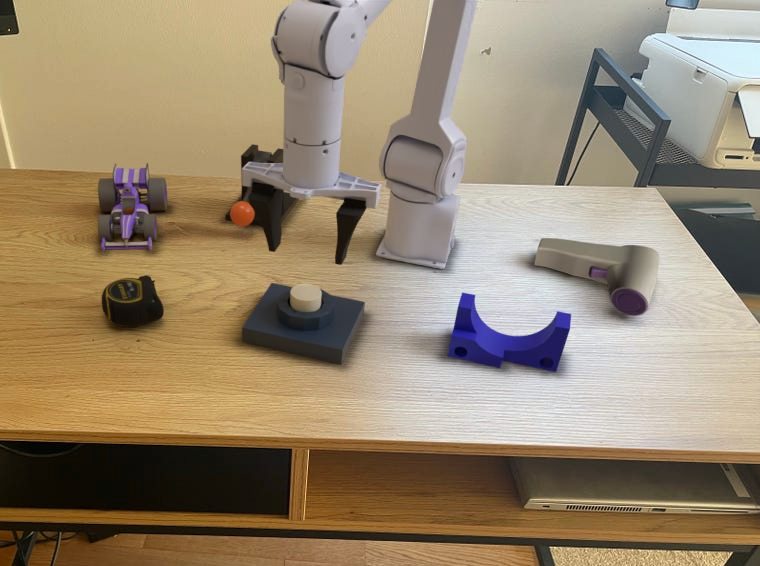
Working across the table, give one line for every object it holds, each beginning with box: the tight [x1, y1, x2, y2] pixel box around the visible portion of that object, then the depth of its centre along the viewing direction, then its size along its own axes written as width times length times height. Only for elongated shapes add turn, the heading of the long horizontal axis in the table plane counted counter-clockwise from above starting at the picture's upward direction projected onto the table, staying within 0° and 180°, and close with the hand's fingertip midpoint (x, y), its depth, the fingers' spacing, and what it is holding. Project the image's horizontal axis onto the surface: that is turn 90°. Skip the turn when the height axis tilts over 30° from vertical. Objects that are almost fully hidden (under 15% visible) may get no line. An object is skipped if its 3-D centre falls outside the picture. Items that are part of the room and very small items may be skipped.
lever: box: [230, 149, 273, 227], centre depth 105 cm, size 12×3×3 cm, turn 161°
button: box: [290, 282, 322, 312], centre depth 85 cm, size 4×4×2 cm
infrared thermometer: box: [534, 237, 661, 317], centre depth 96 cm, size 5×12×15 cm
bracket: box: [224, 144, 300, 228], centre depth 108 cm, size 10×8×9 cm
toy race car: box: [97, 162, 168, 252], centre depth 105 cm, size 10×15×6 cm, turn 4°
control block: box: [241, 282, 366, 366], centre depth 87 cm, size 12×10×4 cm
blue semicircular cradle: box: [447, 292, 572, 373], centre depth 83 cm, size 12×4×6 cm, turn 71°
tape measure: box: [101, 275, 165, 328], centre depth 89 cm, size 7×7×4 cm
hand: (307, 253), depth 82 cm, fingers open, 7 cm apart
